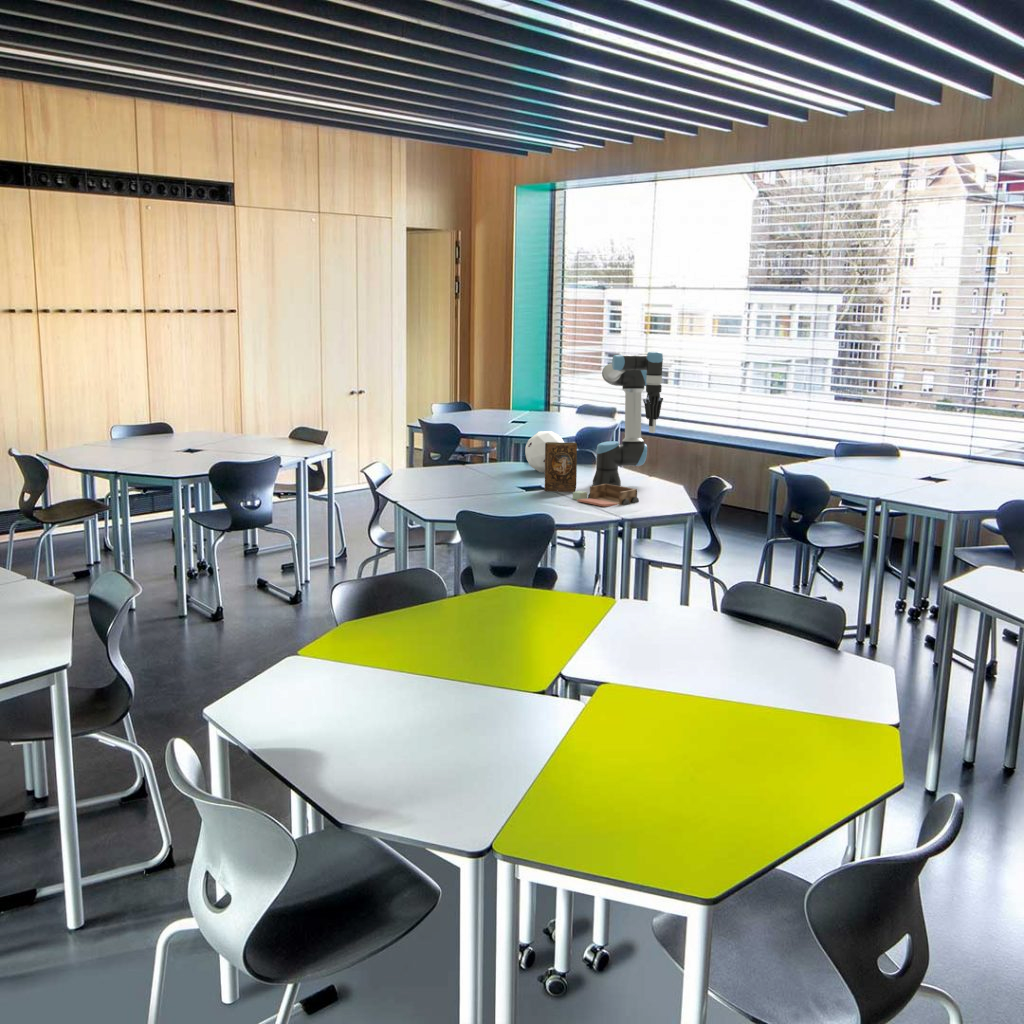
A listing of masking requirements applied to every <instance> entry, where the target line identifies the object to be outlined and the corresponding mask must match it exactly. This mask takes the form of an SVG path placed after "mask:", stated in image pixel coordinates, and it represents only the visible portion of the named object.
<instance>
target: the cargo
mask: <svg viewBox="0 0 1024 1024" xmlns="http://www.w3.org/2000/svg"><path fill="white" fill-rule="evenodd" d="M586 498H588V492H587V491H582V490H576V491H575V492H572V500H576V501H577V499H586Z"/></svg>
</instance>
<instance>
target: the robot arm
mask: <svg viewBox="0 0 1024 1024" xmlns="http://www.w3.org/2000/svg"><path fill="white" fill-rule="evenodd" d="M663 360H664V354H663V352H662V351H648V352H647V353H645V354H615V355H613V356H612V359H611V363H608V364H606V365H604V367H603V368H602V372H601V375H602V378H603V380H604V381H605V382H606V383H607V384H609V385H611V386H616V387H622V391H624V394H625V395H624V398H625V399H624V400H625V401H624V405H625V406H624V438H623V439H622V441H621V443H620V442H619V441H615V440H614V441H612V440H611V441H610V440H609V441H604V442H601V443H598V444H597V446H596V452H595V454H596V462H595V463H596V467H595V473H594V476H593V479H592V486H596V485H601V484H611V485H616V486H621V485H622V480H621V477H620V474H619V467H629V466H630V467H636V466H639V467H641V466H643V465H644V464H645V462H646V460H647V457H648V456H647V455H648V445H647V444H646V443H645V441H644V439H643V438H642V402H643V404H644V411H645V417H646V419H647V420H648V433H651V434H655V433H656V426H657V420H658V419H659V418H660V415H661V410H662V409H661V408H662V404H663V401H664V398H663V397H661V394H660V393H661V392H662V390H663V389H662V388H663V387H662V383H663V362H664V361H663ZM643 391H645V392H646V398H643V400H642V394H643Z"/></svg>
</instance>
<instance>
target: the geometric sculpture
mask: <svg viewBox="0 0 1024 1024" xmlns="http://www.w3.org/2000/svg"><path fill="white" fill-rule="evenodd" d="M547 442H555V443H565V441H564V440H563V438H562V437H561V435H559V434H558V433H556V432H554V431H553V430H546V431H544V430H542V431H540V430H539V431H537V433H535V434H533V436H532V437H530V438H529V439H528V440H527V442H526V445H525V449H524V454H525V459H526V460H527V462H528V464H529V466H530V467H531V468H532V469H534V470H536V471H537V472H539V473H540V472H542V473H545V443H547Z"/></svg>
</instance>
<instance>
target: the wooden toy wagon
mask: <svg viewBox="0 0 1024 1024" xmlns="http://www.w3.org/2000/svg"><path fill="white" fill-rule="evenodd" d="M587 498H593V499H598V500H603V501H608V502H613V503H618V505H621V506H622V505H623V506H627V505H630V504H636V503H639V501H640V500H639V498H638V489H637V488H633V487H632V488H631V487H626V486H616V485H611V484H601V485H596V486H593V485H592V486H589V494H587Z"/></svg>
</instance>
